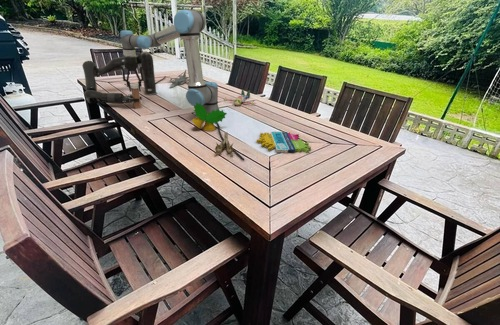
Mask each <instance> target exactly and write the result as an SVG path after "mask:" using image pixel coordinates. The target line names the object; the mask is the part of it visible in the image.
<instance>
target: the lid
mask: <svg viewBox="0 0 500 325" xmlns="http://www.w3.org/2000/svg"><path fill="white" fill-rule="evenodd" d="M130 88H133V89H136V88H139V85H138V83H132V84H131V83H130Z"/></svg>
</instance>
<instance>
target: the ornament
mask: <svg viewBox="0 0 500 325" xmlns="http://www.w3.org/2000/svg"><path fill="white" fill-rule="evenodd" d="M219 110H220V108H219V109H217V110H216V111H214V110H212V112H211V113H208V112H206V109H204V106H201V104H198V103H197V102H196V106H193V112H194V113H195V118H192V119H191V122H192V123H193V125H195V127H197V128H198V129H202V130H203V131H206V132H212V131H213V132H214V131H215V130H216V126H215V124H216V123H218V124H219V122H223V119H226V115H227V114H228V113H227V112H224V110H223V109H221V110H220V111H219ZM207 113H208V115H207ZM214 123H215V124H214Z"/></svg>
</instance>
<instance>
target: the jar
mask: <svg viewBox="0 0 500 325" xmlns="http://www.w3.org/2000/svg"><path fill="white" fill-rule="evenodd" d="M131 95H132V97H133V99H139V102H132V104H133V108H134V109H141V108H142V102H141V100H140V97H141V96H140V95H141V94H140V92H139V88H136V89H133V88H131Z"/></svg>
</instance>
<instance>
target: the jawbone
mask: <svg viewBox="0 0 500 325" xmlns="http://www.w3.org/2000/svg"><path fill="white" fill-rule="evenodd" d="M223 135H224V136H223V139H224V141H223V140H222V139H221V142H220V144H218V142H215V144H216V146H215V148H214V149H215V152H214V154H215V155H217V156H218V155H220V153H221V152H223V151H224V150H226V152H227V153H228V155H229V156H233V155H234V154H233V153H234V151H233V149H234V148H233V144H234V143H230V140H228V139H229V138H228V137H229V136H228V135H229V133H228V131H226V132H224V134H223Z"/></svg>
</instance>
